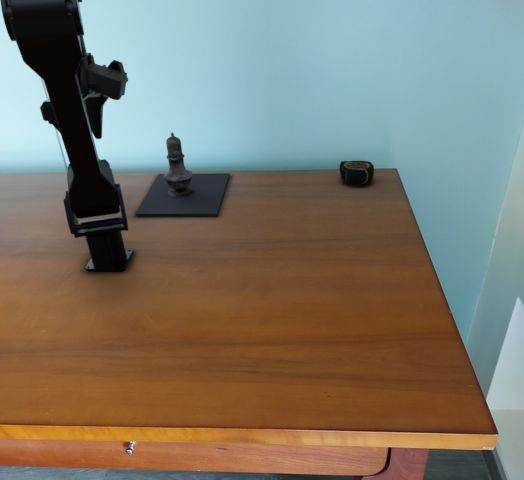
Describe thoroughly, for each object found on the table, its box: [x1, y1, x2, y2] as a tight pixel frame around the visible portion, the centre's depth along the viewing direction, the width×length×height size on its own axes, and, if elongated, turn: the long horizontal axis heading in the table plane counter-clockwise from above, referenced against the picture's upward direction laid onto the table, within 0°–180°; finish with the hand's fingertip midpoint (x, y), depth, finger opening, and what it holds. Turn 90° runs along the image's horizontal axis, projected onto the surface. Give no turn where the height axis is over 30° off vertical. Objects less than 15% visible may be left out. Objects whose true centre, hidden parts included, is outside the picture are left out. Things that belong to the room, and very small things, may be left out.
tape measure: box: [338, 160, 375, 185], centre depth 110 cm, size 7×7×4 cm
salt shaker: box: [164, 131, 194, 197], centre depth 105 cm, size 6×6×12 cm
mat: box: [135, 172, 231, 218], centre depth 109 cm, size 20×16×1 cm
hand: (91, 147), depth 95 cm, fingers open, 9 cm apart
